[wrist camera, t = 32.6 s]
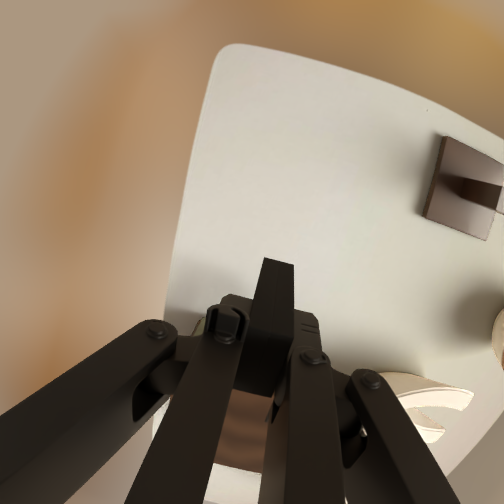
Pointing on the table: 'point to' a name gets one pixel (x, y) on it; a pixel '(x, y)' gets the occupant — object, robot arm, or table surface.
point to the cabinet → (243, 430)
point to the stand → (465, 189)
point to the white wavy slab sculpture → (425, 400)
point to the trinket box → (499, 338)
